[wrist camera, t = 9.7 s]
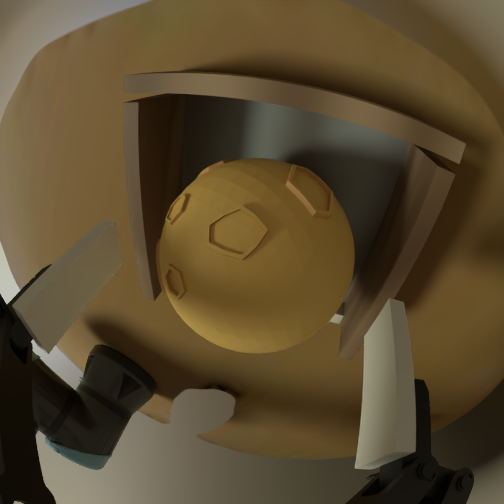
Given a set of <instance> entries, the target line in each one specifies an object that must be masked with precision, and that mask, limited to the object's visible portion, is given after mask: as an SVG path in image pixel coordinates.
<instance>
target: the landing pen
mask: <svg viewBox="0 0 504 504" xmlns="http://www.w3.org/2000/svg"><path fill="white" fill-rule="evenodd" d="M125 93H166V94H161V95H156V96H151V97H146V98H141V99H137V100H132V101H128V102H124V109H123V115H124V152H125V169H126V182H127V193H128V203H129V212H130V220H131V228H132V235H133V242H134V248H135V254H136V260H137V266H138V271H139V277H140V282H141V287H142V292H143V296H144V297H145V298H148V299H150V300H153V301H155V300H156V298H157V297H158V295H159V294H160V293H161V291H162V288H161V285H160V282H159V278H158V272H157V265H156V245H157V242H158V239H161V235H162V230H163V227H164V224H165V221H166V220H165V219H166V216H167V214H168V211H169V209H170V206H171V205H172V204H173V202H174V201H175V200H176V199H177V198H178V197H179V195H181V193H182V192H183V191H184V190H185V189H186V188H187V187H188V186H189V185H190V184H191V183H192V182H193V181H194V180H195V179H197V177H198V175H199V174H200V173H201V172H202V171H203V170H204V169H206V168H207V167H209V166H211V165H213V164H215V163H218V162H220V161H222V160H226V159H238V160H239V159H248V158H269V159H274V160H279V161H283V162H286V163H290V164H292V165H293V164H295V165H298V166H301V167H305V168H308V169H309V170H310V171H312V172H313V173H314V174H315V175H317V176H318V177H319V178H321V179H322V181H323V182H324V183H325V184H326V185H327V186H328V187H329V188H330V189H331V190H332V192H333V195H334V196H335V197H336V199H337V201H338V202H339V204H340V205H341V207H342V209H343V210H344V212H345V215H346V217H347V219H348V222H349V224H350V228H351V232H352V235H353V241H354V251H355V260H354V270H353V277H352V280H351V283H350V287H349V290H348V292H347V294H346V296H345V298H344V300H343V302H342V304H341V306H340V308H339V309H338V311H337V312H336V313H335V315H334V316H333V317H332V319H331V320H330V322H334V323H338V324H340V322H341V334H340V346H339V358H344V359H349V360H352V358H353V357H354V356H355V355H356V353H357V352H358V351H359V349H360V348H361V346H362V345H363V344H364V336H365V335H366V333H367V332H368V330H369V329H370V327H371V326H372V324H373V323H374V321H375V320H376V318H377V317H378V315H379V313H380V312H381V310H382V309H383V307H384V306H385V304H386V302H387V301H388V299H389V298H391V299H394V298H395V296H396V295H397V293H398V291H399V290H400V288H401V286H402V285H403V283H404V281H405V280H406V278H407V276H408V274H409V273H410V271H411V269H412V267H413V265H414V264H415V262H416V260H417V258H418V256H419V254H420V252H421V251H422V249H423V247H424V245H425V243H426V241H427V239H428V237H429V235H430V233H431V231H432V229H433V227H434V224H435V222H436V220H437V218H438V216H439V214H440V211H441V209H442V207H443V205H444V202H445V200H446V197H447V195H448V193H449V190H450V188H451V185H452V183H453V180H454V177H455V175H456V174H455V173H454V172H453V171H451V170H450V169H449V168H448V167H447V166H446V165H445V164H444V163H443V162H441V161H440V160H439V159H438V158H437V157H436V156H435V155H433V154H432V153H431V152H430V151H432V152H434V153H436V154H439V155H441V156H443V157H445V158H447V159H449V160H451V161H453V162H456V163H458V164H460V161H461V158H462V155H463V152H464V149H465V146H466V144H465V143H463V142H462V141H460V140H458V139H457V138H455V137H453V136H451V135H450V134H448V133H446V132H444V131H442V130H440V129H438V128H437V127H435V126H433V125H431V124H429V123H426V122H424V121H422V120H420V119H417V118H415V117H412V116H410V115H407V114H405V113H402V112H400V111H397V110H394V109H391V108H389V107H386V106H383V105H380V104H377V103H374V102H371V101H368V100H365V99H361V98H358V97H355V96H351V95H348V94H344V93H341V92H337V91H333V90H329V89H325V88H320V87H316V86H312V85H307V84H302V83H297V82H292V81H286V80H280V79H274V78H267V77H260V76H252V75H243V74H232V73H219V72H200V71H170V72H153V73H141V74H132V75H124V94H125ZM429 150H430V151H429Z"/></svg>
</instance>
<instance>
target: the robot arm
mask: <svg viewBox="0 0 504 504" xmlns="http://www.w3.org/2000/svg"><path fill="white" fill-rule="evenodd" d="M122 266H123V262H122V257H121V252H120V247H119V242H118V236H117V230H116V224H115V222H112V221H108V220H105V219H104V220H103V221H102V222H100V223H99V224H98V225H97V226H96V227H94V228H93V229H92V230H91V231H90V232H88V233H87V234H86V235H85V236H84V237H82V238H81V239H80V240H79V241H78V242H77V243H75V244H74V245H73V246H72V247H71V248H70V249H69V250H68V251H66V252H65V253H64V254H63V255H62V256H61V257H60V258H59V259H58V260H57V261H55V262H54V263H53V264H50V265H48V266H47V267H45V268H43V269H42V270H41V271H39V272H38V273H37V274H36V275H35V277H34V278H32V279H31V280H30V281H29V283H27V284H26V285H25V286H24V287H23V288H22V289H21V291H20V292H19V293H18V294H17V295H16V296H15V297H14V298H13V299H12V300H11V301H10V302H9V303H8V304H7V305H6V303H5V301H4V299H3V298H2V296H1V294H0V504H13V503H14V501H18V502H21V503H24V504H56V502H55V499H54V496H53V495H52V493H51V492H50V491H49V489H48V488H47V487H46V485H45V483H44V480H43V476H42V471H41V467H40V461H39V456H38V450H37V444H36V436H35V435H36V433H37V432H38V431H40V432H42V433H43V434H45V435H46V437H45V439H46V440H45V442H46V444H47V445H48V446H49V447H50V448H52V449H53V450H54V451H56V452H57V453H60V454H61V455H62V456H64V457H65V458H67V459H69V460H71V461H73V462H75V463H77V464H79V465H81V466H84V467H87V468H90V469H95V470H98V469H101V468H103V467H104V465H105V464H106V462H107V461H108V459H109V458H110V457H111V456H112V452H113V450H114V448H115V447H116V445H117V443H118V441H119V439H120V437H121V435H122V433H123V431H124V429H125V427H126V425H127V423H128V422H129V420H130V418H131V416H132V415H133V414H134V413H135V412H136V411H137V410H138V409H139V408H141V407H142V406H143V405H144V404H145V403H146V402H147V401H149V400H150V399H151V398H152V396H153V395H154V393H155V391H156V389H157V386H156V384H155V382H154V381H153V380H152V378H151V377H150V376H149V375H148V374H147V373H146V372H145V371H143V370H142V369H141V368H140V367H139V366H137V365H136V364H135V363H133V362H132V361H130V360H129V359H128V358H126V357H124V356H123V355H121V354H120V353H118V352H116V351H114V350H112V349H110V348H108V347H105V346H102V345H95V346H94V348H93V349H92V350H91V352H90V353H89V356H88V359H87V363H86V367H85V371H84V375H83V378H82V381H81V383H80V384H79V386H78V387H77V389H76V390H74V389H73V388H72V387H71V386H70V385H68V384H67V383H66V382H65V381H64V380H62V379H61V378H60V377H59V376H58V375H57V374H55V372H53V371H52V370H51V369H50V368H49V367H48V366H47V365H46V364H45V363H44V362H43V361H42V360H41V359H40V357H39V356H38V355H36V354H35V353H34V352H33V351H32V348H33V347H32V343H31V341H32V339H34V341H35V342H36V344H37V345H38V346H39V347H40V348H41V349H42V350H44V351H45V352H46V353H48V354H49V353H50V351H51V350H52V349H53V347H54V346H55V345H56V343H57V342H58V341H59V340H60V338H61V337H62V336H63V334H64V333H65V332H66V331H67V329H68V328H69V327H70V326H71V324H72V323H73V322H74V321H75V320H76V318H77V317H78V316H79V315H80V313H81V312H82V311H83V310H84V309H85V307H86V306H87V305H88V304H89V303H90V302H91V300H92V299H93V298H94V297H95V296H96V295H97V293H98V292H99V291H100V290H101V289H102V288H103V287H104V286H105V284H106V283H107V282H108V281H109V280H110V279H111V278H112V277H113V276H114V274H115V273H116V272H117V271H118V270H119V269H120V268H121V267H122ZM429 404H430V402H429V391H428V389H427V386H426V384H425V382H424V380H420V379H414V372H413V362H412V353H411V345H410V337H409V330H408V324H407V317H406V311H405V306H404V302H402V301H398V300H395V299H391V298H389V299H388V301H387V302H386V304H385V306H384V307H383V309H382V310H381V312H380V313H379V315H378V317H377V318H376V320H375V321H374V323H373V324H372V326H371V327H370V329H369V330H368V332H367V333H366V335H365V336H364V376H363V396H362V410H361V422H360V432H359V441H358V449H357V456H356V463H355V468H356V469H375V468H377V467H380V472H379V473H376V474H373V475H370V476H369V477H367V478H366V479H367V480H369V479H372V480H371V481H370V482H369V483H368V484H367V485H366V486H364V487H363V488H362V489H361V490H360V491H359V492H358V493H357V494H356V495H355V496H354V497H353V498H351V499H350V500H349V501H348V502H347V503H346V504H466V502H467V500H468V498H469V495H470V493H471V490H472V487H473V483H474V475H473V473H472V471H471V470H470V469H469V468H462V469H459V470H456V471H454V470H451V469H447V468H445V467H442V466H439V465H438V462H437V460H436V459H435V458H434V457H433V456H432V454H431V421H430V416H429V415H430V406H429Z"/></svg>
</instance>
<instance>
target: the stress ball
mask: <svg viewBox="0 0 504 504" xmlns="http://www.w3.org/2000/svg"><path fill="white" fill-rule="evenodd" d="M165 220H166V221H165V224H164V227H163V230H162V235H161V239H158V242H157V245H156V265H157V272H158V278H159V282H160V285H161V288H162V291H163V294H164V296H165V298H166V300H170V301H171V303H172V305H173V307H174V308H175V310H176V312H177V313H178V314H179V315H180V317H181V318H182V319H183V320H184V321H185V323H186V324H187V325H188V326H189V327H191V328H192V329H193V330H194V331H195V332H196V333H197V334H199V335H201V336H202V337H204V338H205V339H207V340H208V341H210V342H212V343H214V344H216V345H218V346H221V347H224V348H227V349H230V350H233V351H237V352H245V353H270V352H276V351H281V350H284V349H287V348H290V347H293V346H295V345H298V344H300V343H302V342H304V341H305V340H307V339H309V338H310V337H312V336H313V335H315V334H316V333H317V332H318V331H320V330H321V329H322V328H323V327H324V326H325V325H326V324H327V323H328V322H329V321H330V320H331V319H332V317H333V316H334V315H335V313H336V312H337V311H338V309H339V308H340V306H341V304H342V302H343V300H344V298H345V296H346V294H347V292H348V290H349V287H350V283H351V280H352V277H353V270H354V260H355V251H354V241H353V235H352V232H351V228H350V224H349V222H348V219H347V217H346V215H345V212H344V210H343V209H342V207H341V205H340V204H339V202H338V201H337V199H336V197H335V196H334V195H333V192H332V190H331V189H330V188H329V187H328V186H327V185H326V184H325V183H324V182H323V181H322V179H321V178H319V177H318V176H317V175H315V174H314V173H313V172H312V171H310V170H309V169H308V168H305V167H301V166H298V165H295V164H293V165H292V164H290V163H286V162H283V161H279V160H274V159H269V158H248V159H239V160H238V159H226V160H222V161H220V162H218V163H215V164H213V165H211V166H209V167H207V168H206V169H204V170H203V171H202V172H201V173H200V174H199V175H198V177H197V179H195V180H194V181H193V182H192V183H191V184H190V185H189V186H188V187H187V188H186V189H185V190H184V191H183V192H182V193H181V195H179V197H178V198H177V199H176V200H175V201H174V202H173V204H172V205H171V206H170V209H169V211H168V214H167V216H166V219H165Z"/></svg>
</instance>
